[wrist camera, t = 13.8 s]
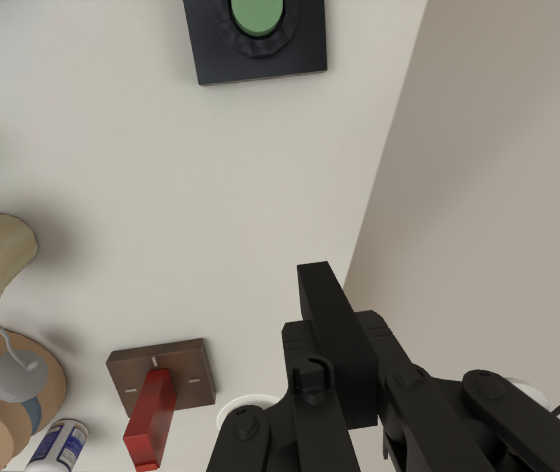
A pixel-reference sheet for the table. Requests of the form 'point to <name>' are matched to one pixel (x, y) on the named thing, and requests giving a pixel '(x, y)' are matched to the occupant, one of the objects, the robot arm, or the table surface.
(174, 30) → the table surface
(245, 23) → the release button
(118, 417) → the table surface
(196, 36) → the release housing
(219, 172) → the table surface
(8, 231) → the flower pot
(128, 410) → the base plate
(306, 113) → the table surface
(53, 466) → the pill bottle
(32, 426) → the alarm clock
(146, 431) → the red rectangular block
